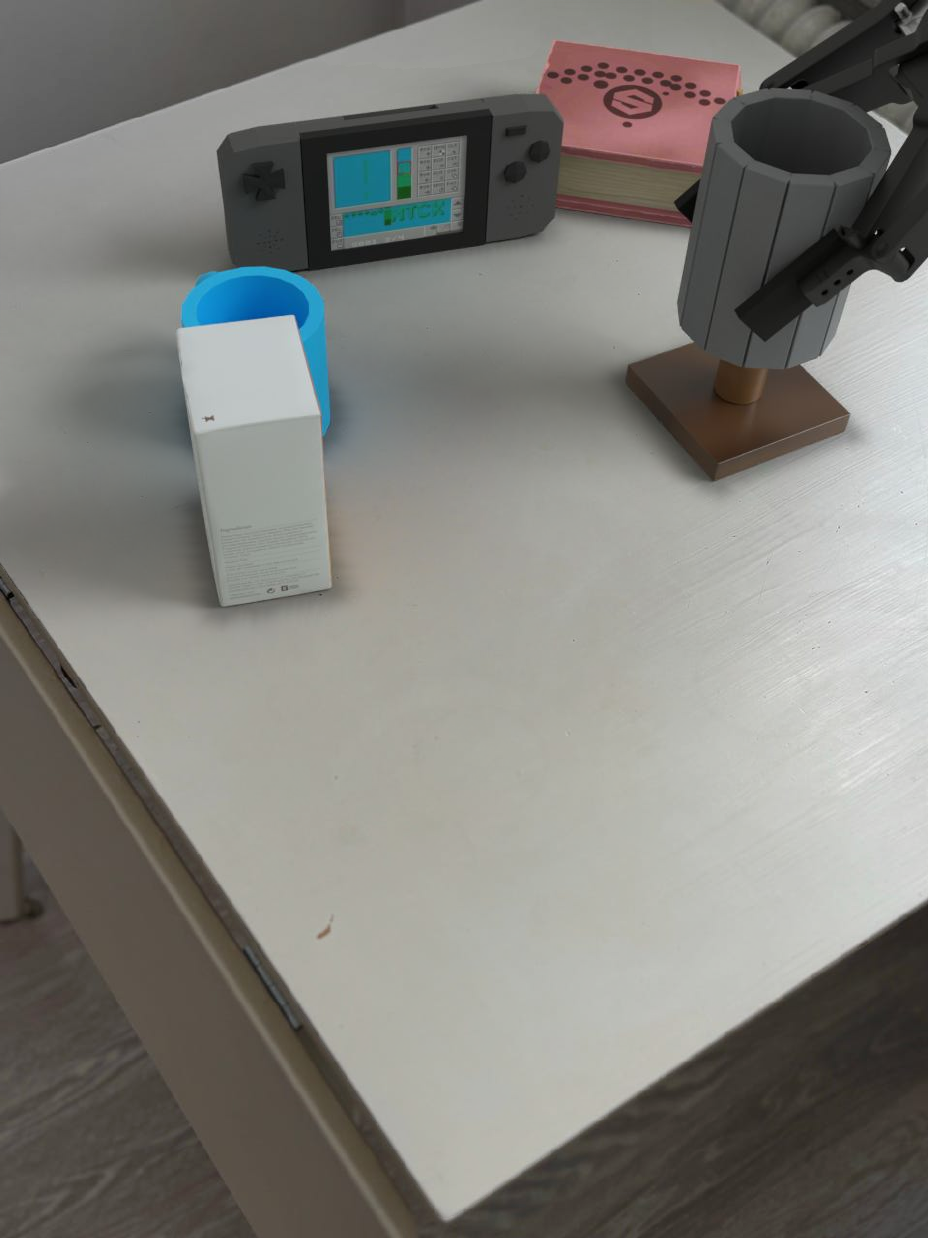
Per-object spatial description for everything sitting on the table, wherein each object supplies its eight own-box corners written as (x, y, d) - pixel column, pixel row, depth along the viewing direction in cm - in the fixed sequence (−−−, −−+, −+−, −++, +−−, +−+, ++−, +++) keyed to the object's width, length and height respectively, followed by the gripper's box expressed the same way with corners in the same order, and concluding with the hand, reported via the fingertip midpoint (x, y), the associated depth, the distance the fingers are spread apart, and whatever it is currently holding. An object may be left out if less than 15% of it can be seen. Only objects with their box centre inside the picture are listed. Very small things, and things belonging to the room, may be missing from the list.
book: (724, 231, 98) (737, 170, 94) (516, 201, 99) (520, 139, 95) (739, 126, 107) (751, 66, 103) (547, 99, 108) (553, 39, 104)
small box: (334, 591, 75) (323, 415, 65) (219, 610, 74) (190, 433, 64) (309, 488, 80) (295, 310, 70) (201, 505, 79) (171, 326, 69)
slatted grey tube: (844, 372, 78) (903, 188, 68) (683, 365, 78) (721, 180, 68) (822, 274, 83) (874, 91, 74) (672, 267, 83) (706, 84, 74)
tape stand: (845, 431, 85) (907, 249, 74) (713, 481, 82) (759, 299, 71) (751, 338, 90) (796, 156, 80) (624, 382, 87) (654, 198, 77)
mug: (354, 433, 83) (350, 326, 77) (234, 481, 80) (219, 374, 74) (265, 324, 89) (254, 217, 83) (150, 365, 86) (130, 258, 80)
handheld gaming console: (236, 285, 92) (220, 153, 84) (228, 261, 94) (213, 129, 86) (555, 237, 97) (568, 107, 89) (543, 215, 98) (555, 86, 90)
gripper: (1224, 132, 63) (826, 430, 73) (1001, -80, 77) (690, 194, 86) (1173, 32, 58) (752, 365, 68) (944, -177, 72) (620, 126, 81)
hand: (717, 269), depth 77 cm, fingers closed on slatted grey tube, 9 cm apart
